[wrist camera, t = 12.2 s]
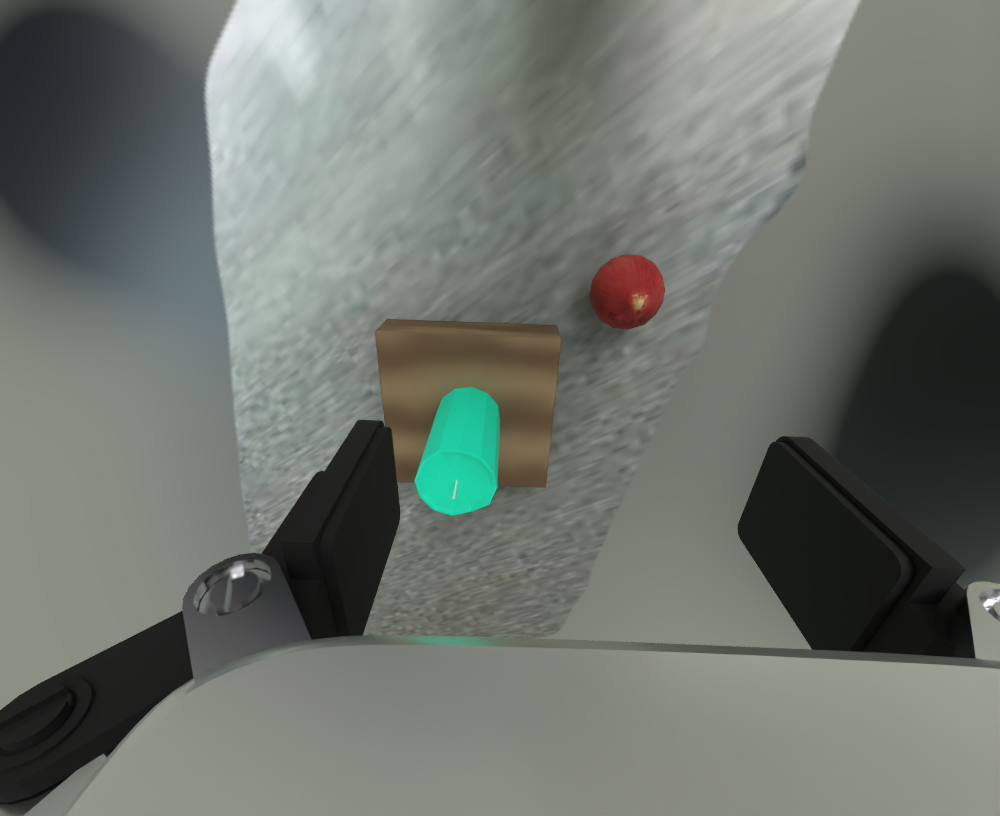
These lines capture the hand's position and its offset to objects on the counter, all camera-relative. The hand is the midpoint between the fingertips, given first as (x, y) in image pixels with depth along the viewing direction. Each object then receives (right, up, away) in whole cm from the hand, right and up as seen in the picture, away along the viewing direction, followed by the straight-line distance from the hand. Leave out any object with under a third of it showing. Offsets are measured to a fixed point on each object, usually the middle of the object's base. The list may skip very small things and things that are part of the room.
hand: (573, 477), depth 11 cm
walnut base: (-5, +3, +33) cm, 33 cm away
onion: (+9, +13, +27) cm, 31 cm away
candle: (-5, +1, +29) cm, 30 cm away
